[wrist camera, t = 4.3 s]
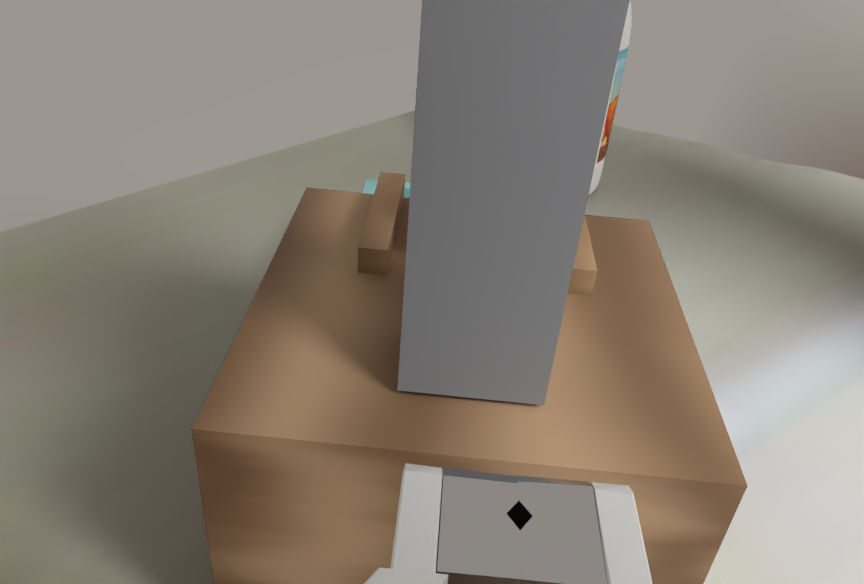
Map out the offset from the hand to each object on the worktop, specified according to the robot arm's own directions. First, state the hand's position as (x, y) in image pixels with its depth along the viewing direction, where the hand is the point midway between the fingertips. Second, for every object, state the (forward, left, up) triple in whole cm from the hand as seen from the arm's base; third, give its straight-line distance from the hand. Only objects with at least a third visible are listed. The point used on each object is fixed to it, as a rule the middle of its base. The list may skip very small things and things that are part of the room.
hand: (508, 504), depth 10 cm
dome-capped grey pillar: (0, -10, -6) cm, 12 cm away
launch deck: (0, -14, -16) cm, 21 cm away
